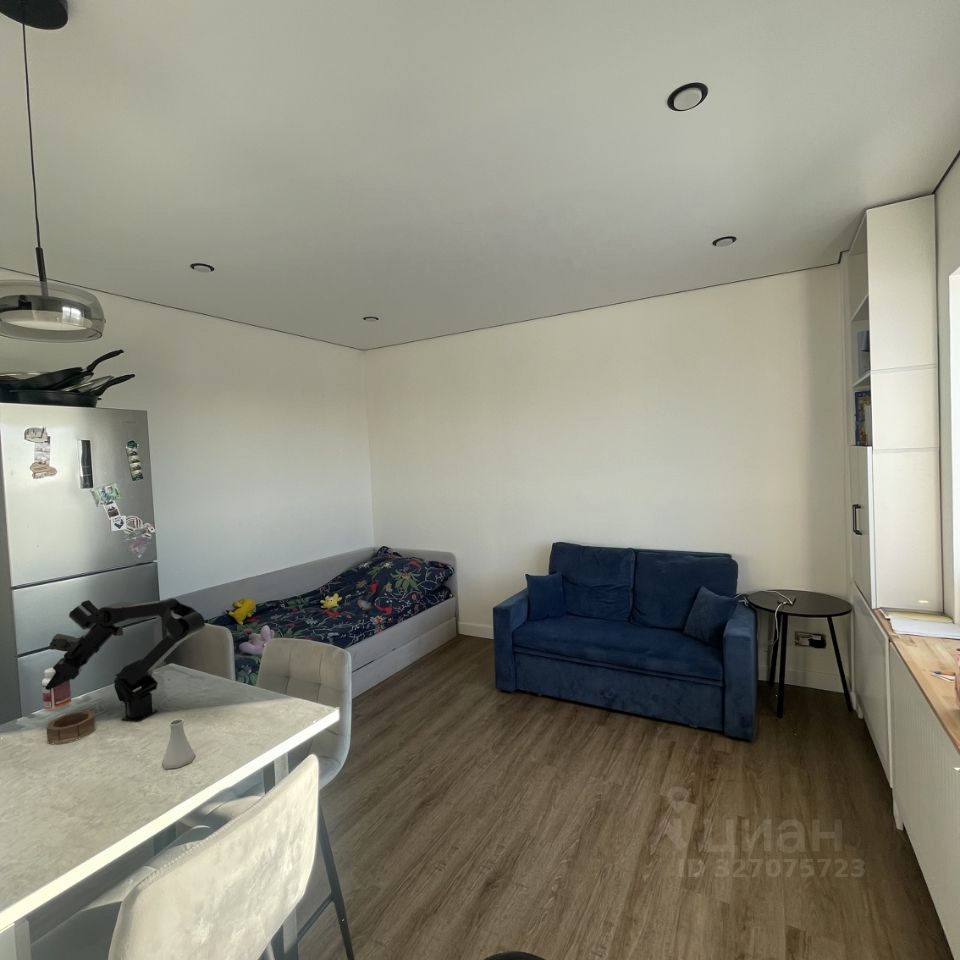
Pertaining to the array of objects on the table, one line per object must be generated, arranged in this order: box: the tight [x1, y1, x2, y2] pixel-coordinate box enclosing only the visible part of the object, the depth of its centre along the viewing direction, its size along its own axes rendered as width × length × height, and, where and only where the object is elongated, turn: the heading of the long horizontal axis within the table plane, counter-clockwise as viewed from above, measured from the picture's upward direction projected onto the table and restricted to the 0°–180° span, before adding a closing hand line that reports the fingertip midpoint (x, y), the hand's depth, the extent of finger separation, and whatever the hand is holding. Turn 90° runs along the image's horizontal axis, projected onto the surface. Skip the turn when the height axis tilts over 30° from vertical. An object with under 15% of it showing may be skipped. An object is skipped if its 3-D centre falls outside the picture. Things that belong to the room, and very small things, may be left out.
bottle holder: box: [46, 710, 97, 745], centre depth 142 cm, size 10×10×4 cm
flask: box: [161, 718, 196, 770], centre depth 126 cm, size 7×7×10 cm
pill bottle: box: [41, 666, 72, 712], centre depth 148 cm, size 6×6×11 cm
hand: (50, 684), depth 147 cm, fingers closed on pill bottle, 6 cm apart
